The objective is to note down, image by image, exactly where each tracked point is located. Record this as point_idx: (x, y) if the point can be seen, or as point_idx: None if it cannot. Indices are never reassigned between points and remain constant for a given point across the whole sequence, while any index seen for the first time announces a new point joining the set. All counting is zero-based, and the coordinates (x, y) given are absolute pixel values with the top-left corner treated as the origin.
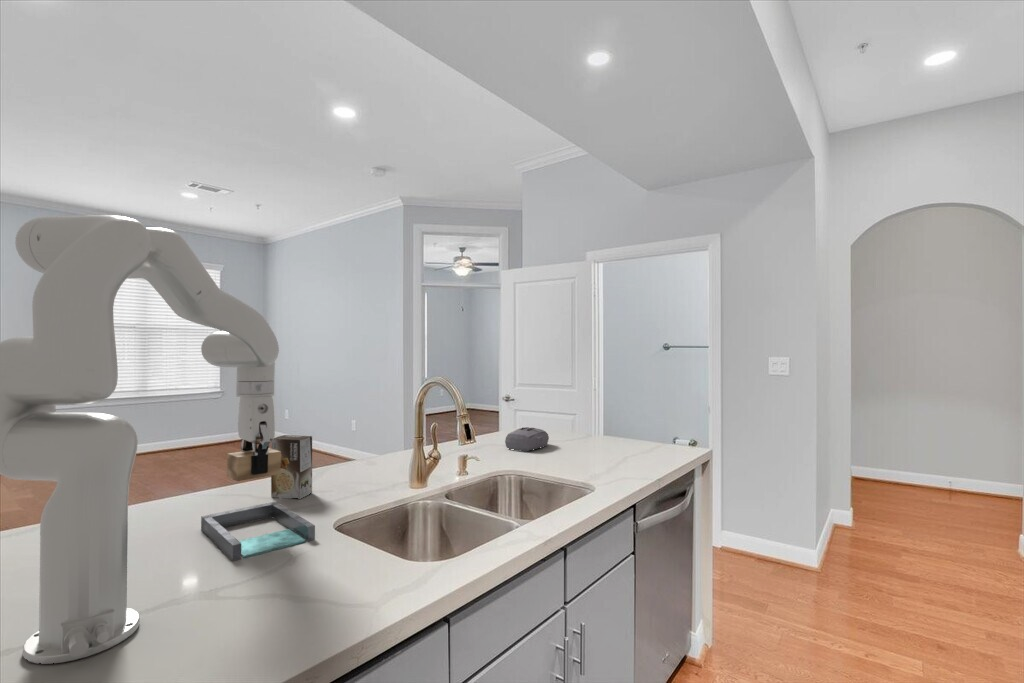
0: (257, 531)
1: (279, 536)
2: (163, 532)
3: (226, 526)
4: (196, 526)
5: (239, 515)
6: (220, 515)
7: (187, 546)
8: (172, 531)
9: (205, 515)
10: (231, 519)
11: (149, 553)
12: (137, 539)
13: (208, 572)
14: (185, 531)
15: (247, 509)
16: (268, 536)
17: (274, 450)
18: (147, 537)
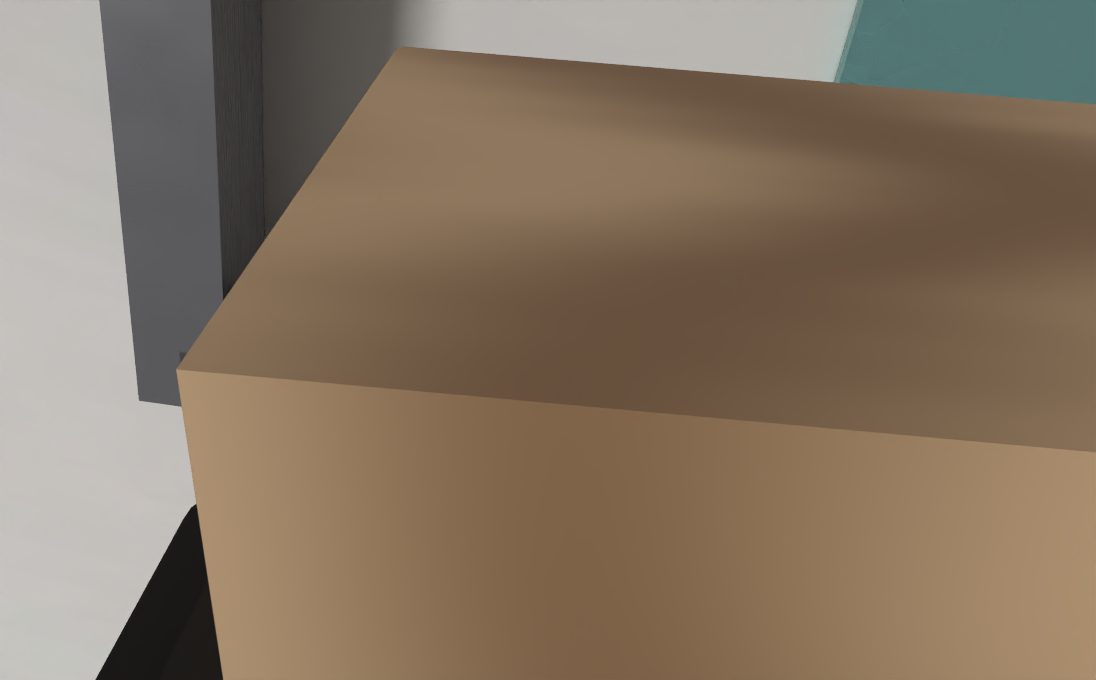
0: (625, 39)
1: (1031, 5)
2: (62, 498)
3: (261, 175)
4: (59, 316)
5: (231, 86)
6: (221, 281)
7: None
8: (79, 459)
9: (137, 370)
10: (243, 156)
11: None
12: (116, 621)
13: None
14: (144, 409)
15: (204, 9)
16: (919, 76)
17: (1030, 528)
18: (113, 581)
